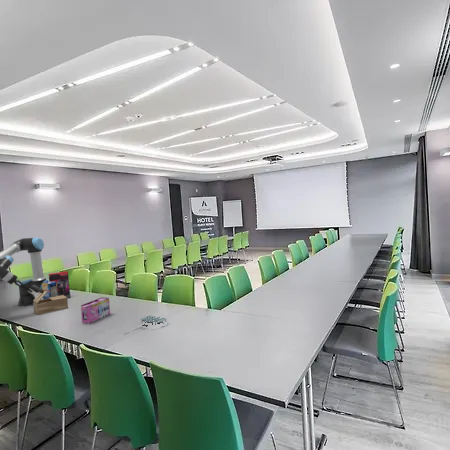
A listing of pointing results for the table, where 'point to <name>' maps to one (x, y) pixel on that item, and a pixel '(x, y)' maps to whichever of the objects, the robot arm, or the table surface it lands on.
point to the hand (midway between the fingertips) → (34, 293)
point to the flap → (41, 294)
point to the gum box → (95, 309)
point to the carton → (50, 304)
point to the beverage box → (50, 289)
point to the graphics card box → (61, 283)
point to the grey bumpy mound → (152, 320)
